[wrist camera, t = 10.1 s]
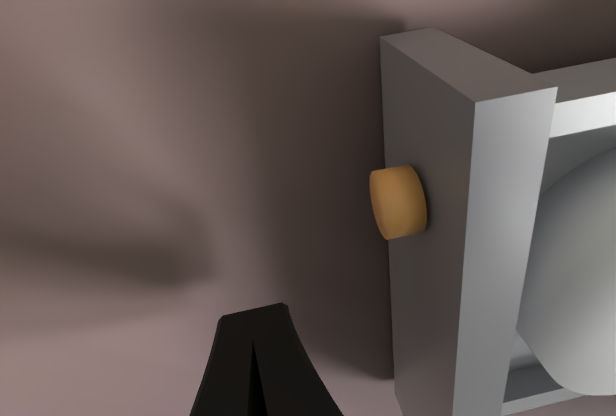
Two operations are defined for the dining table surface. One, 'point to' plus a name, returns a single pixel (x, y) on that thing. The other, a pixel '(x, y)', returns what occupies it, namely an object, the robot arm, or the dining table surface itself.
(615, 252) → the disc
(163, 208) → the dining table surface
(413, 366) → the tray
